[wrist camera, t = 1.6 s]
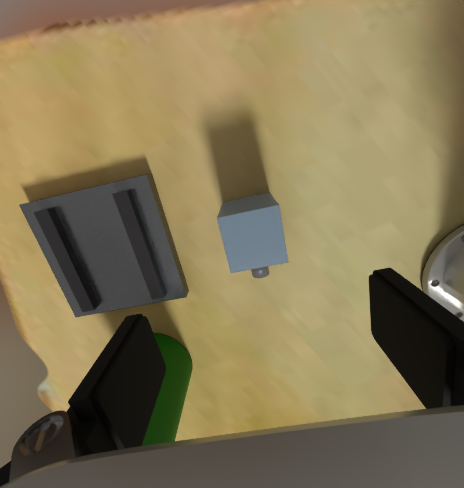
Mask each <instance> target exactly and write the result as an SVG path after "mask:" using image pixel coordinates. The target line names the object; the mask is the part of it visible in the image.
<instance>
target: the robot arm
mask: <svg viewBox="0 0 464 488" xmlns="http://www.w3.org/2000/svg"><path fill="white" fill-rule="evenodd" d="M422 286H423V291H421V290H420V289H419V288H417V287H416V286H415V285H413V284H412V283H411V282H409V281H408V280H407V279H405V278H404V277H402V276H401V275H400V274H398V273H397V272H396V271H394V270H393V269H391V268H385V269H380V270H374V271H373V275H370V276H369V293H370V314H371V331H372V335H373V337H374V339H375V340H376V342H377V343H378V344H379V346H380V347H381V349H382V350H383V351H384V353H385V354H386V355H387V357H388V358H389V359H390V361H391V362H392V363H393V365H394V366H395V367H396V369H397V370H398V371H399V373H400V374H401V375H402V377H403V378H404V379H405V381H406V382H407V383H408V385H409V386H410V387H411V389H412V390H413V392H414V393H415V394H416V396H417V397H418V398H419V400H420V401H421V402H422V404H423V405H424V406H425V408H426V409H422V410H412V411H403V412H394V413H386V414H379V415H371V416H363V417H355V418H347V419H339V420H331V421H323V422H316V423H308V424H300V425H293V426H285V427H278V428H270V429H263V430H255V431H248V432H240V433H233V434H225V435H218V436H211V437H203V438H196V439H189V440H182V441H175V442H168V443H161V444H153V445H146V446H142V443H143V440H144V437H145V434H146V431H147V428H148V425H149V422H150V419H151V416H152V413H153V410H154V407H155V404H156V401H157V398H158V395H159V392H160V389H161V386H162V382H163V379H164V376H165V373H166V364H165V361H164V359H163V356H162V354H161V351H160V349H159V346H158V344H157V341H156V339H155V336H154V334H153V331H152V329H151V326H150V324H149V321H148V319H147V317H145V316H144V317H143V315H142V314H136V315H131V316H127V317H126V318H125V319H124V321H123V322H122V324H121V325H120V326H119V328H118V329H117V331H116V332H115V334H114V335H113V337H112V338H111V340H110V341H109V343H108V344H107V345H106V347H105V348H104V350H103V351H102V353H101V354H100V356H99V357H98V359H97V360H96V361H95V363H94V364H93V366H92V367H91V369H90V370H89V372H88V373H87V375H86V376H85V378H84V379H83V380H82V382H81V383H80V385H79V386H78V388H77V389H76V391H75V392H74V394H73V395H72V397H71V398H70V399H69V401H68V403H69V405H70V408H69V409H68V411H67V412H65V411H55V412H52V413H49V414H47V415H45V416H44V417H42V418H41V419H39V420H38V421H36V422H35V423H34V424H32V425H31V426H30V427H29V428H28V429H27V430H26V431H25V432H24V433H23V434H22V435H21V437H20V438H19V439H18V441H17V442H16V444H15V446H14V448H13V451H12V456H11V461H10V462H9V463H7V464H6V465H4V466H3V467H2V468H0V488H464V225H463V226H461V227H459V228H458V229H456V230H455V231H453V232H452V233H451V234H449V235H448V236H447V237H446V238H445V239H444V240H442V241H441V242H440V243H439V244H438V246H437V247H436V248H435V249H434V251H433V252H432V253H431V255H430V257H429V259H428V261H427V263H426V265H425V268H424V272H423V278H422Z"/></svg>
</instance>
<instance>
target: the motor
mask: <svg viewBox="0 0 464 488" xmlns="http://www.w3.org/2000/svg"><path fill="white" fill-rule="evenodd" d="M153 334H154V336H155V339H156V341H157V344H158V346H159V349H160V351H161V354H162V356H163V359H164V361H165V364H166V373H165V376H164V379H163V382H162V386H161V389H160V392H159V395H158V398H157V401H156V404H155V407H154V410H153V413H152V416H151V419H150V422H149V425H148V428H147V431H146V434H145V437H144V440H143V443H142V446H146V445H153V444H161V443H168V442H175V438H176V433H177V429H178V425H179V421H180V417H181V413H182V409H183V405H184V401H185V397H186V393H187V389H188V385H189V381H190V377H191V372H192V360H191V357H190V355H189V353H188V352H187V350H186V349H185V348H184V347H183V346H182V345H181V344H180V343H179V342H177V341H176V340H174V339H172V338H170V337H168V336H165V335H162V334H157V333H153Z"/></svg>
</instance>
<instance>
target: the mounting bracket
mask: <svg viewBox="0 0 464 488" xmlns="http://www.w3.org/2000/svg"><path fill="white" fill-rule="evenodd" d="M19 206H20V208H21V210H22V212H23V214H24V216H25V218H26V220H27V222H28V224H29V226H30V228H31V229H32V231H33V233H34V235H35V237H36V239H37V241H38V243H39V245H40V247H41V249H42V251H43V253H44V255H45V257H46V259H47V261H48V263H49V265H50V267H51V269H52V271H53V273H54V275H55V277H56V279H57V281H58V283H59V285H60V287H61V289H62V291H63V293H64V295H65V297H66V299H67V301H68V303H69V305H70V307H71V309H72V311H73V313H74V315H75V317H80V316H85V315H91V314H96V313H102V312H107V311H113V310H118V309H124V308H129V307H135V306H140V305H146V304H151V303H157V302H162V301H168V300H173V299H179V298H184V297H186V296H187V294H188V291H189V290H188V287H187V283H186V280H185V277H184V274H183V271H182V268H181V264H180V261H179V258H178V255H177V252H176V249H175V246H174V242H173V239H172V236H171V233H170V230H169V227H168V223H167V220H166V217H165V214H164V211H163V208H162V205H161V201H160V198H159V195H158V192H157V189H156V186H155V183H154V179H153V176H152V174H147V175H142V176H138V177H134V178H130V179H126V180H121V181H117V182H113V183H109V184H105V185H100V186H96V187H92V188H88V189H84V190H79V191H75V192H71V193H67V194H63V195H59V196H54V197H50V198H46V199H42V200H38V201H33V202H29V203H25V204H21V205H19Z"/></svg>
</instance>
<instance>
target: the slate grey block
mask: <svg viewBox="0 0 464 488" xmlns="http://www.w3.org/2000/svg"><path fill="white" fill-rule="evenodd" d="M217 220H218V224H219V228H220V232H221V236H222V240H223V244H224V248H225V252H226V256H227V260H228V264H229V268H230V272H231V273H235V272H240V271H245V270H252V275H253V277H255V278H263V277H266V276H267V275H269V269H268V266H272V265H277V264H283V263H288V257H287V250H286V244H285V238H284V232H283V226H282V220H281V214H280V207H279V204H278V203H277V202H276V200H275V199H274V198H273V196H272V195H271V194H270V192H269V193H264V194H260V195H255V196H250V197H246V198H241V199H237V200H232V201H228V202H223V204H222V206H221V209H220V212H219V214H218V217H217Z"/></svg>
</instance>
